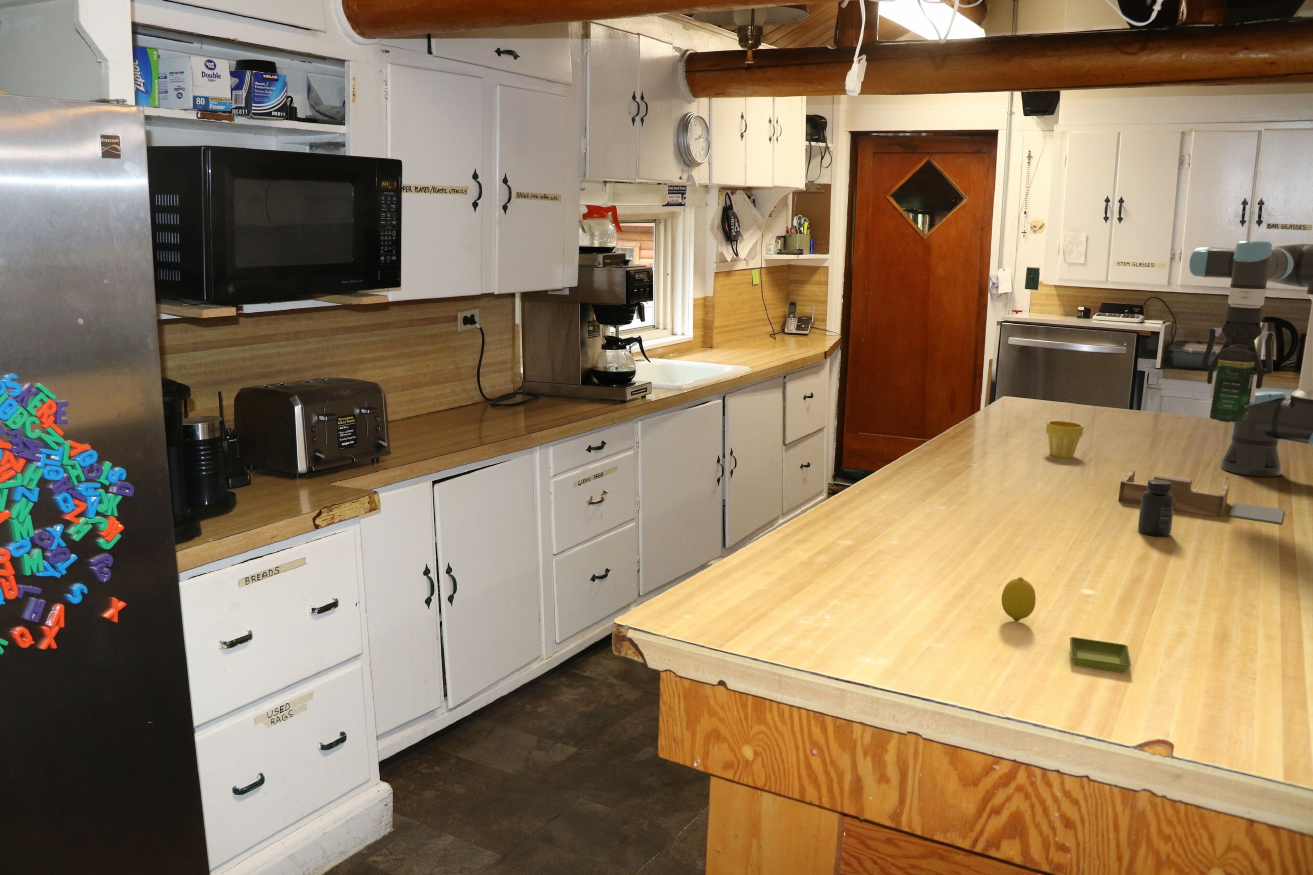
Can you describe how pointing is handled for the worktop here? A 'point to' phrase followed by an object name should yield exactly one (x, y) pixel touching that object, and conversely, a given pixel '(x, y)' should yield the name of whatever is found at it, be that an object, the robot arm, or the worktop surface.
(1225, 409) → the coffee jar
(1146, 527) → the supplement bottle
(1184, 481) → the offcut top
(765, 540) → the worktop surface
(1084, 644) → the green tray
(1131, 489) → the wooden open enclosure
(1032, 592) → the lemon
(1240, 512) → the mat
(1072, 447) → the plant pot
